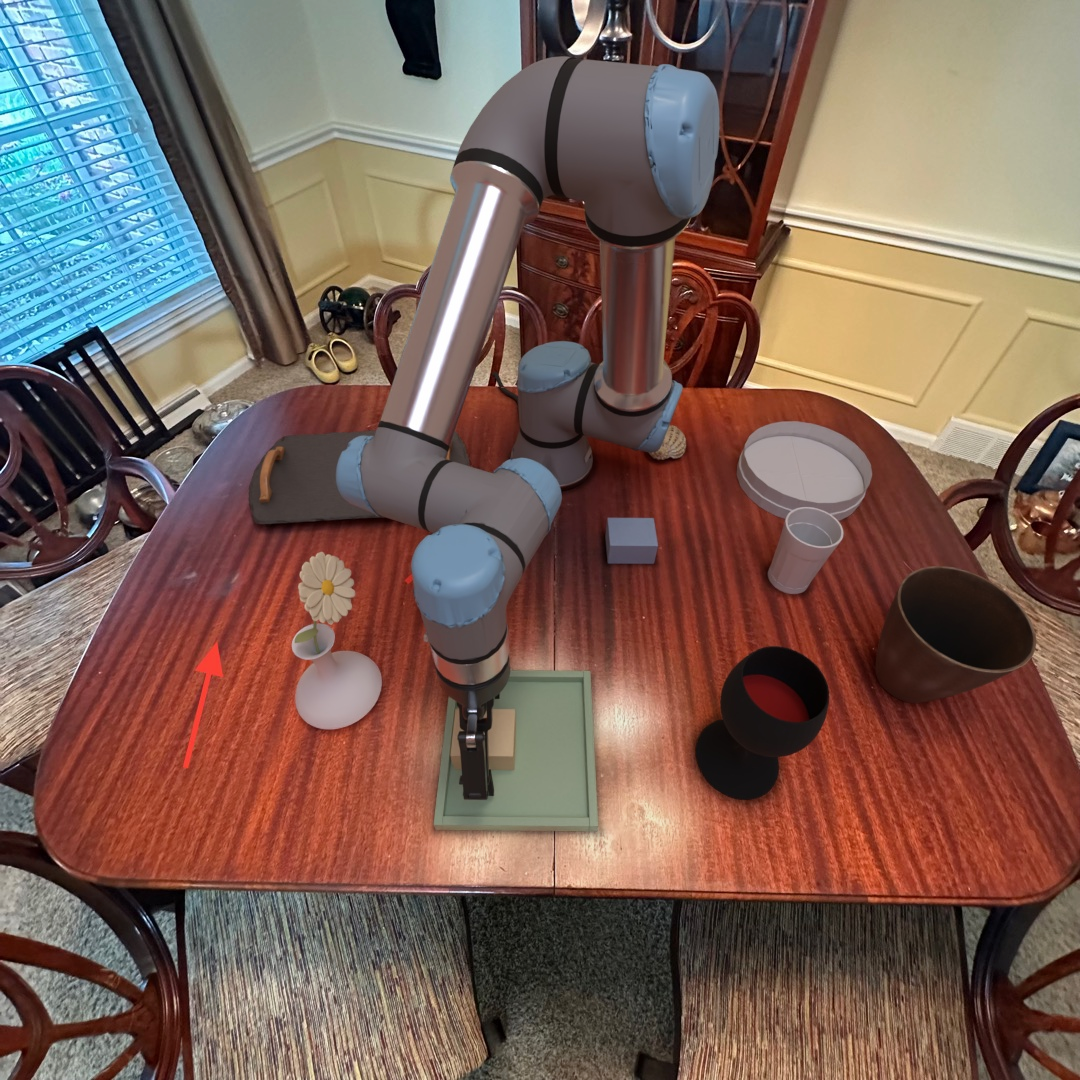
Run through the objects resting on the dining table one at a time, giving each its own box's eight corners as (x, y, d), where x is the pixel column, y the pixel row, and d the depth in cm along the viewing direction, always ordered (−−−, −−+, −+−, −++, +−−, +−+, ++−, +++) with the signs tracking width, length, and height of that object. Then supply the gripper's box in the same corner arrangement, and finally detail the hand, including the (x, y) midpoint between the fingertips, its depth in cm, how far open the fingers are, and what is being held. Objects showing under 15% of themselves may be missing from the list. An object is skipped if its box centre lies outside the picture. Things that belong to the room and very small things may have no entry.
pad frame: (435, 830, 71) (433, 824, 69) (453, 676, 84) (451, 669, 82) (597, 831, 71) (598, 826, 69) (589, 677, 84) (590, 670, 82)
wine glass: (686, 722, 79) (720, 642, 64) (763, 716, 80) (814, 635, 65) (707, 804, 72) (751, 736, 57) (791, 796, 73) (856, 727, 58)
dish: (742, 518, 104) (749, 498, 100) (730, 437, 118) (737, 416, 114) (875, 529, 102) (888, 509, 98) (847, 445, 116) (857, 425, 113)
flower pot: (987, 698, 82) (1065, 635, 69) (914, 752, 77) (984, 694, 65) (895, 618, 90) (950, 549, 78) (824, 661, 85) (871, 595, 73)
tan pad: (454, 769, 75) (450, 755, 71) (459, 723, 79) (455, 708, 75) (514, 770, 75) (513, 756, 71) (516, 724, 79) (515, 708, 75)
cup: (816, 602, 92) (847, 551, 83) (763, 593, 93) (787, 543, 84) (812, 562, 97) (840, 511, 88) (761, 554, 98) (783, 503, 89)
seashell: (642, 449, 120) (647, 463, 111) (645, 419, 118) (650, 430, 108) (681, 451, 120) (689, 465, 110) (685, 421, 117) (693, 432, 108)
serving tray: (241, 536, 101) (226, 510, 96) (270, 446, 116) (259, 421, 112) (471, 522, 103) (468, 496, 98) (470, 436, 118) (467, 410, 114)
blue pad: (607, 563, 97) (610, 545, 94) (605, 535, 101) (607, 517, 98) (654, 564, 97) (658, 545, 94) (649, 536, 101) (653, 517, 98)
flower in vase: (342, 751, 77) (278, 649, 58) (280, 706, 81) (202, 598, 62) (409, 673, 84) (371, 560, 65) (349, 636, 88) (297, 519, 69)
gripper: (447, 559, 68) (465, 657, 84) (416, 775, 52) (445, 845, 68) (513, 559, 67) (519, 658, 84) (503, 776, 52) (512, 845, 68)
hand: (486, 741), depth 76 cm, fingers open, 12 cm apart
